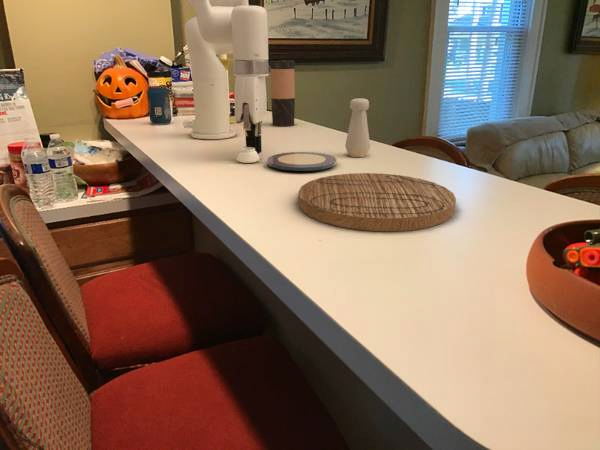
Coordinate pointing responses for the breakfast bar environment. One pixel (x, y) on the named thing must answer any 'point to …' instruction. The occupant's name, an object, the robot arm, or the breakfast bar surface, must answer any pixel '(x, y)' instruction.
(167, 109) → the soda can
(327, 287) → the breakfast bar surface
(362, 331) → the breakfast bar surface
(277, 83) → the travel mug
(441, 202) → the trivet
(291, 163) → the plate
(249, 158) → the white jar
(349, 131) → the salt shaker
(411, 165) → the breakfast bar surface
